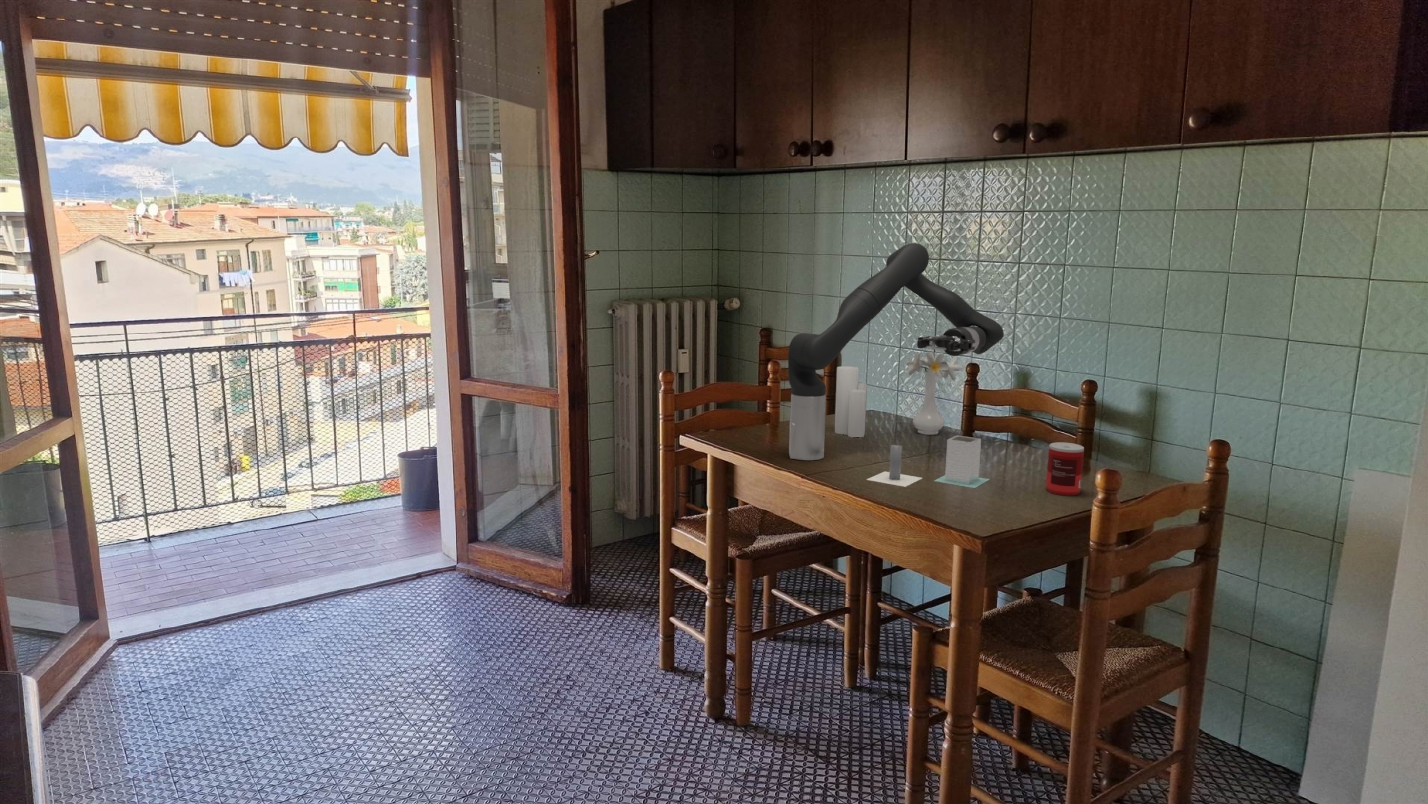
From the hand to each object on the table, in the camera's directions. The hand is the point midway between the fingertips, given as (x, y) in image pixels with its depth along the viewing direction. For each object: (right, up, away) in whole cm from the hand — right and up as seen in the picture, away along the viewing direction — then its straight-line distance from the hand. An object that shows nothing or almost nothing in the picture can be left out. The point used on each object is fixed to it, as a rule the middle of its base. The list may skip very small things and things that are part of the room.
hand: (934, 345), depth 230 cm
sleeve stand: (-14, -35, -17) cm, 41 cm away
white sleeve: (+2, -33, -18) cm, 38 cm away
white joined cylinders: (-15, -25, +40) cm, 49 cm away
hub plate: (+2, -35, -18) cm, 39 cm away
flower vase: (+9, -24, +43) cm, 50 cm away
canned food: (+25, -36, -21) cm, 49 cm away
